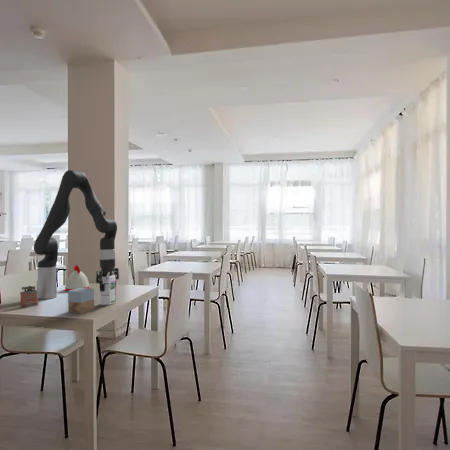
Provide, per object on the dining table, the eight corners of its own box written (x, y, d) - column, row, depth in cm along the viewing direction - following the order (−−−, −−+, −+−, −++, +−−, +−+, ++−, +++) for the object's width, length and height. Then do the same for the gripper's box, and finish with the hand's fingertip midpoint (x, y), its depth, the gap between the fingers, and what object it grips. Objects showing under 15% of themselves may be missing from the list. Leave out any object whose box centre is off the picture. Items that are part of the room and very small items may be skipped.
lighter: (36, 304, 187) (36, 284, 187) (39, 305, 185) (38, 285, 185) (19, 306, 181) (19, 286, 181) (21, 307, 179) (21, 287, 179)
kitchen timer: (84, 286, 237) (83, 263, 237) (92, 289, 227) (92, 265, 226) (61, 289, 227) (61, 265, 227) (70, 292, 217) (69, 267, 217)
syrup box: (110, 305, 183) (110, 276, 183) (99, 304, 184) (99, 276, 184) (116, 302, 189) (115, 274, 189) (105, 302, 190) (105, 274, 190)
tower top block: (68, 301, 170) (68, 290, 170) (80, 298, 178) (80, 287, 178) (81, 302, 167) (81, 291, 167) (93, 299, 175) (93, 288, 175)
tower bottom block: (68, 312, 170) (68, 301, 170) (81, 308, 178) (81, 298, 178) (81, 313, 167) (81, 302, 167) (94, 309, 175) (94, 299, 175)
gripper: (111, 256, 194) (111, 287, 194) (91, 259, 181) (92, 291, 181) (122, 256, 191) (123, 287, 192) (103, 259, 178) (104, 292, 178)
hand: (108, 289), depth 186 cm, fingers open, 8 cm apart
